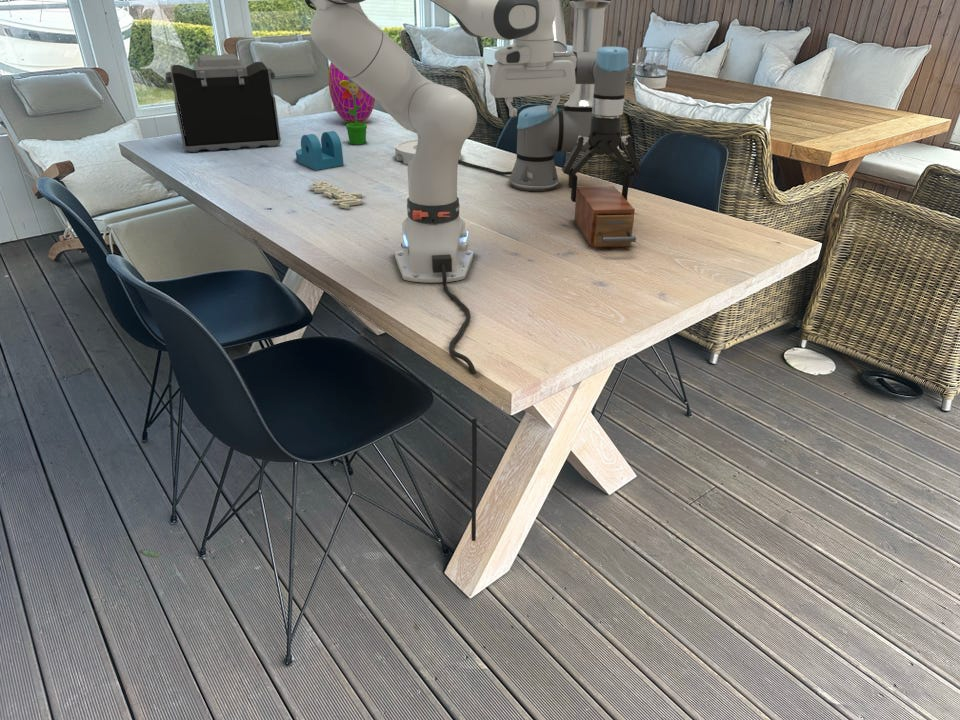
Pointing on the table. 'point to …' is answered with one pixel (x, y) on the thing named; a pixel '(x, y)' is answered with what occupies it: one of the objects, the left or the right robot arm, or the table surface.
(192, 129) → the electronic device
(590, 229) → the cabinet
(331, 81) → the decorative egg
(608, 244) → the drawer
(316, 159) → the camera mount
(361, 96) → the potted flower
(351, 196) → the decorative sign
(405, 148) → the ashtray
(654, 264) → the table surface
